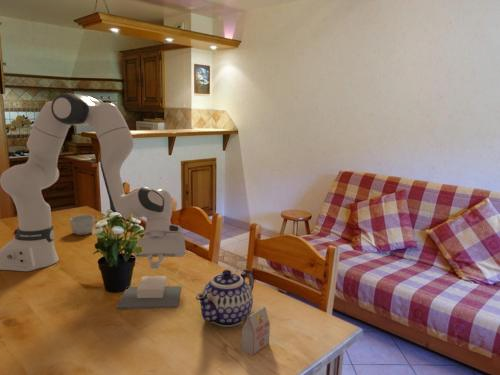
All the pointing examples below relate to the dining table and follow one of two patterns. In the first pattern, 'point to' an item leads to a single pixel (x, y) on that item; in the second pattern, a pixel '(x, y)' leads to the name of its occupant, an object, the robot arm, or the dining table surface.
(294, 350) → the dining table surface
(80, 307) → the dining table surface
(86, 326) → the dining table surface
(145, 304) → the slate mat
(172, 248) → the robot arm
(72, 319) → the dining table surface
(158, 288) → the ceramic tile
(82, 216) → the teacup
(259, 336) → the grey gable-top carton
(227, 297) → the teapot
